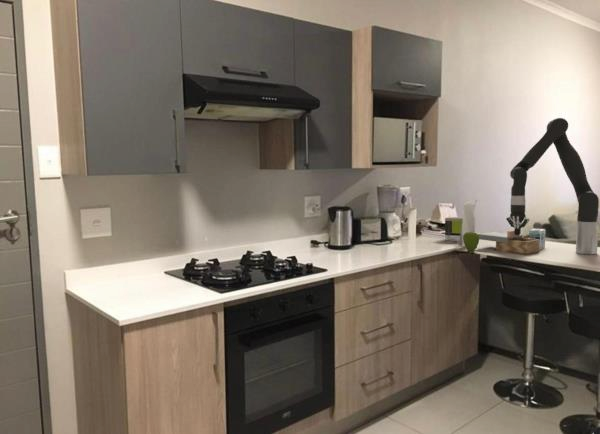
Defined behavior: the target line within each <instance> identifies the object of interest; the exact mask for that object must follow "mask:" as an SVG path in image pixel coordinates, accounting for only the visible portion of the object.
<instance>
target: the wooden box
mask: <svg viewBox="0 0 600 434" xmlns="http://www.w3.org/2000/svg"><path fill="white" fill-rule="evenodd" d="M539 242H540V240H539V239H530V238H529V237H523V236H522V237H518V238H512V239H508V243H504V242H496V241H495V251H496V252H504V253H511V254H515V255H516V254H517V255H524V256H527V255H533V254H536V253H537V254H538V253H540V250H539Z"/></svg>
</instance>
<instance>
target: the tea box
mask: <svg viewBox="0 0 600 434" xmlns="http://www.w3.org/2000/svg"><path fill="white" fill-rule="evenodd" d="M462 222H463V216H447V217H445V218H444V240H445V241H450V242H451V241H453V242H454V241H455V242H460V232H461V225H462ZM462 236H463V234H462Z"/></svg>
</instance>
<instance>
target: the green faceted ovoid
mask: <svg viewBox="0 0 600 434" xmlns="http://www.w3.org/2000/svg"><path fill="white" fill-rule="evenodd" d="M478 234H479V233H477V232H475V233H474V232H466V233H465V234H464V235H463V243H464V244H465V247H464V248H465V249H466V251H467V252H470V253H473V252H474V251H475V250H476V249H477V248H478V245H479V243H480V242H479V241H480V239H479V235H478Z"/></svg>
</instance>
